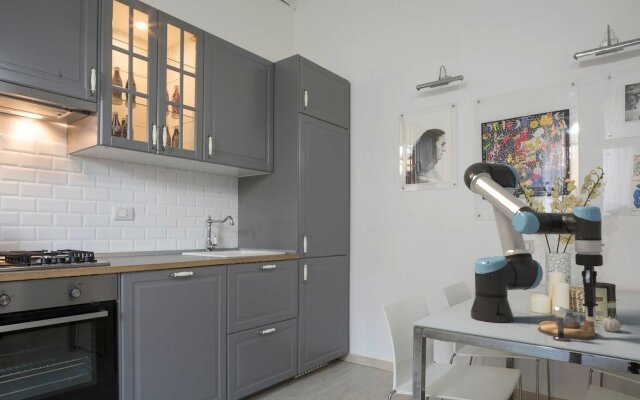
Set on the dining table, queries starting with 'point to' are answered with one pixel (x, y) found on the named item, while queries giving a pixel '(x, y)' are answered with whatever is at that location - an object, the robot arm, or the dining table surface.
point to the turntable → (582, 332)
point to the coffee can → (605, 301)
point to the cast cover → (570, 320)
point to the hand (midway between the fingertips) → (591, 326)
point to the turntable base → (570, 337)
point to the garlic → (611, 324)
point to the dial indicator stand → (560, 324)
